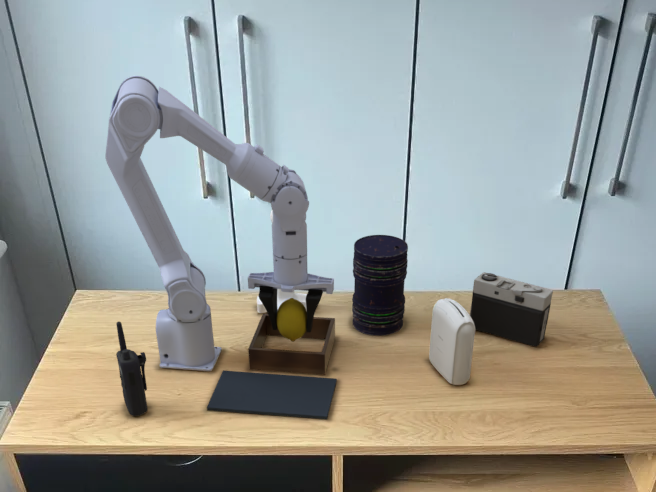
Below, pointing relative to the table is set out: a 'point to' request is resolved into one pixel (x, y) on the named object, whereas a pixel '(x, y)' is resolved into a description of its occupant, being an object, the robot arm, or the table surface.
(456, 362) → the photo printer
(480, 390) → the table surface
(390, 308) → the dark navy cylinder
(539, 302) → the camera
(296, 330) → the lemon
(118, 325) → the two-way radio
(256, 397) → the mat
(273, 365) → the wooden frame
